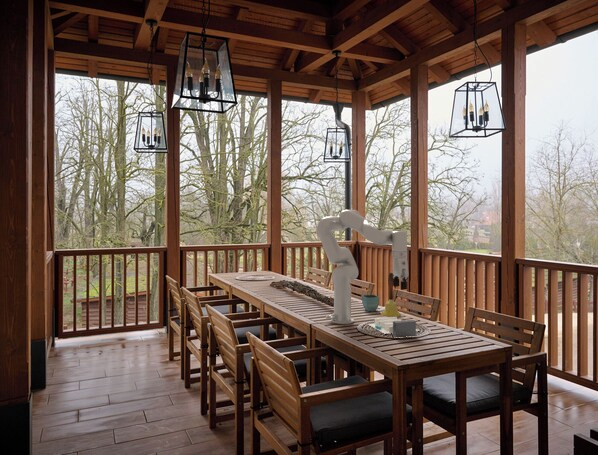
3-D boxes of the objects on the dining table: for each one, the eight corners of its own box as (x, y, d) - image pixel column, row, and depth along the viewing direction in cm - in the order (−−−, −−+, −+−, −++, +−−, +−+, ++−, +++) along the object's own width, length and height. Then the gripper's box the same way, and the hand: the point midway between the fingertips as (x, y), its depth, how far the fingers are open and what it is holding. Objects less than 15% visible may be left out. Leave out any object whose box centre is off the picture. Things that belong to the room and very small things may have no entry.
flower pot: (366, 312, 286) (366, 297, 285) (360, 309, 294) (361, 295, 294) (379, 311, 288) (379, 297, 288) (373, 308, 297) (373, 294, 296)
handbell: (386, 317, 272) (386, 274, 271) (377, 313, 284) (377, 272, 283) (405, 316, 275) (405, 274, 274) (395, 311, 287) (395, 271, 286)
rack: (384, 335, 235) (384, 327, 235) (367, 325, 254) (367, 318, 254) (419, 332, 240) (419, 324, 240) (400, 322, 259) (401, 316, 259)
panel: (395, 339, 228) (395, 322, 228) (392, 337, 231) (392, 321, 231) (415, 337, 231) (416, 321, 231) (412, 335, 234) (412, 319, 234)
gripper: (413, 255, 233) (414, 290, 233) (399, 253, 250) (400, 285, 250) (399, 256, 231) (399, 290, 232) (386, 253, 248) (387, 285, 249)
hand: (400, 287), depth 241 cm, fingers open, 9 cm apart
